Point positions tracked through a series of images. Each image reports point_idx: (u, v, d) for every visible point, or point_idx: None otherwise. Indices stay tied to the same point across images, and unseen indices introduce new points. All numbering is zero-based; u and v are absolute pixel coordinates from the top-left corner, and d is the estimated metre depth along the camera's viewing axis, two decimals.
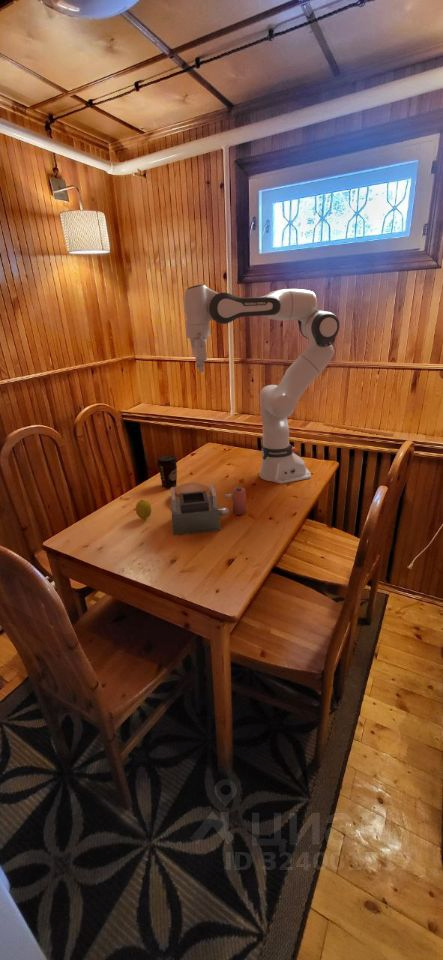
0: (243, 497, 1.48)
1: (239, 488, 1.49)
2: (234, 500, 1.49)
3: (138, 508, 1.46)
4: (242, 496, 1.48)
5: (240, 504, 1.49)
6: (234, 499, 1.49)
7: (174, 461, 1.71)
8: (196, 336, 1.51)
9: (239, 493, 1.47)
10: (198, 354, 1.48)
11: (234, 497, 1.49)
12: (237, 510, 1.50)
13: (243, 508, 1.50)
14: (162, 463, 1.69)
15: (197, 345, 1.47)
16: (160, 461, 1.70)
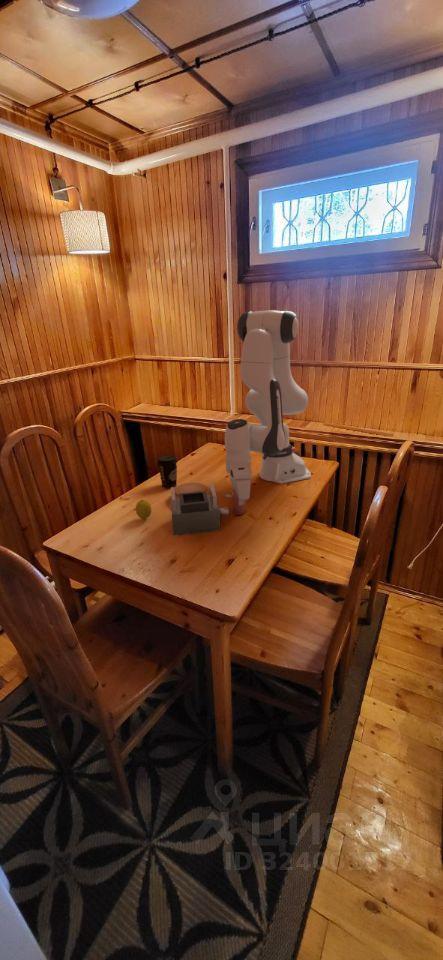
0: None
1: None
2: (234, 500, 1.49)
3: (138, 508, 1.46)
4: None
5: None
6: (234, 499, 1.49)
7: (174, 461, 1.71)
8: None
9: None
10: None
11: (234, 497, 1.49)
12: (237, 510, 1.50)
13: (243, 508, 1.50)
14: (162, 463, 1.69)
15: None
16: (160, 461, 1.70)
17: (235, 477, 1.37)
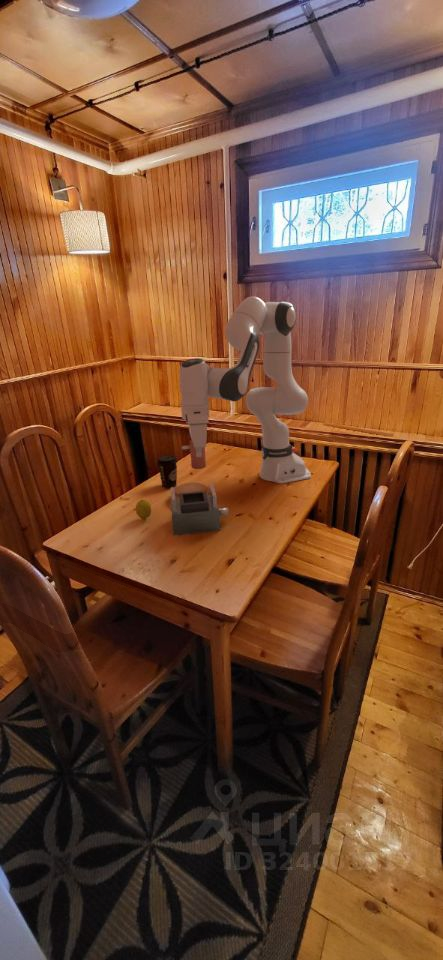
0: (202, 448, 1.33)
1: None
2: (192, 452, 1.34)
3: (138, 508, 1.46)
4: None
5: None
6: (192, 451, 1.34)
7: (174, 461, 1.71)
8: None
9: None
10: None
11: (192, 449, 1.33)
12: (195, 464, 1.35)
13: (202, 461, 1.35)
14: (162, 463, 1.69)
15: None
16: (160, 461, 1.70)
17: (189, 421, 1.22)
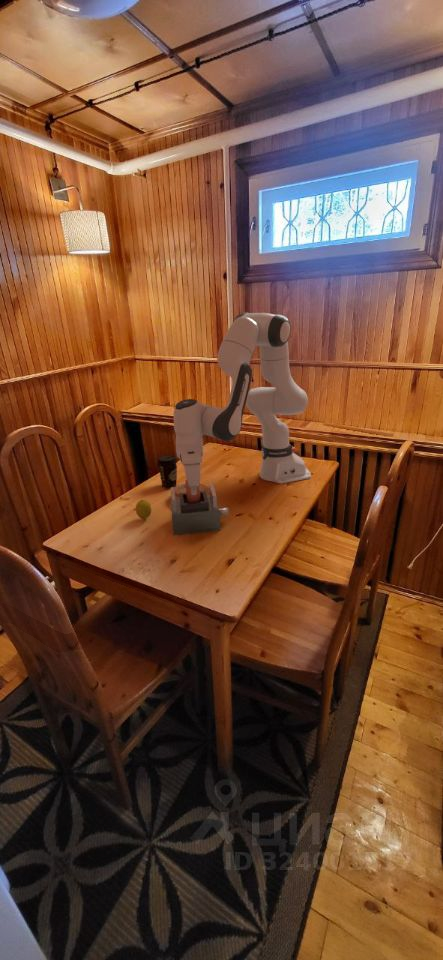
0: (197, 488, 1.38)
1: None
2: (187, 491, 1.38)
3: (138, 508, 1.46)
4: None
5: (194, 495, 1.38)
6: (187, 490, 1.38)
7: (174, 461, 1.71)
8: None
9: None
10: None
11: (187, 488, 1.38)
12: (190, 502, 1.39)
13: (197, 500, 1.39)
14: (162, 463, 1.69)
15: None
16: (160, 461, 1.70)
17: (183, 462, 1.26)
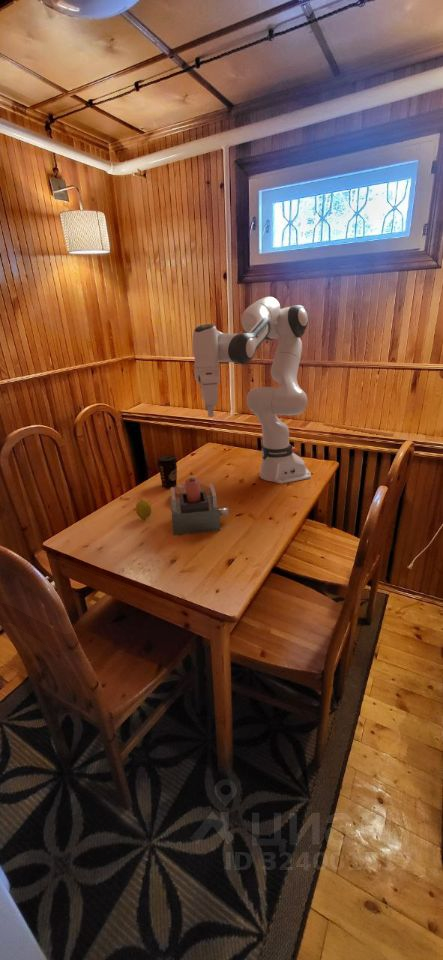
0: (197, 488, 1.38)
1: (192, 479, 1.38)
2: (187, 492, 1.38)
3: (138, 508, 1.46)
4: (195, 488, 1.37)
5: (194, 495, 1.38)
6: (187, 490, 1.38)
7: (174, 461, 1.71)
8: None
9: (192, 484, 1.36)
10: None
11: (187, 488, 1.38)
12: None
13: (197, 500, 1.39)
14: (162, 463, 1.69)
15: None
16: (160, 461, 1.70)
17: (202, 381, 1.35)
